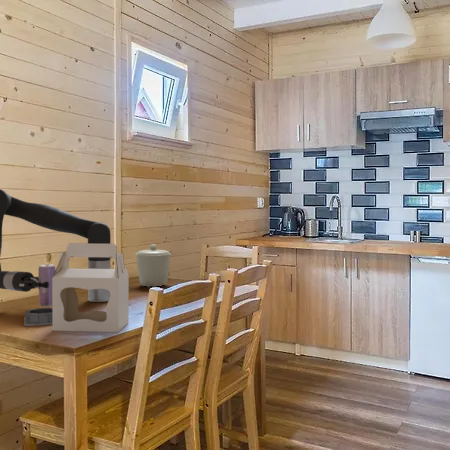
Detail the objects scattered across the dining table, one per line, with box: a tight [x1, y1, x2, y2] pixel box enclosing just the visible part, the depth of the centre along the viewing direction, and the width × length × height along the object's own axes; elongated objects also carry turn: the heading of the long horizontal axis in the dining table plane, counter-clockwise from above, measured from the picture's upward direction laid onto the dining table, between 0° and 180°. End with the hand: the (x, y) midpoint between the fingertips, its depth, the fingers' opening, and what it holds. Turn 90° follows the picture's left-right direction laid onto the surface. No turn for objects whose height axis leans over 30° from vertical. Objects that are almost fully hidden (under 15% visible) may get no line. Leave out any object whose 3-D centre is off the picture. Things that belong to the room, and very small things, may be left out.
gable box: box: [51, 242, 129, 333], centre depth 175 cm, size 22×13×28 cm, turn 87°
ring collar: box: [23, 307, 53, 327], centre depth 183 cm, size 12×12×4 cm
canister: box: [134, 243, 172, 288], centre depth 264 cm, size 18×18×21 cm
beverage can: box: [38, 264, 56, 308], centre depth 196 cm, size 6×6×15 cm
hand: (53, 283), depth 195 cm, fingers closed on beverage can, 5 cm apart
